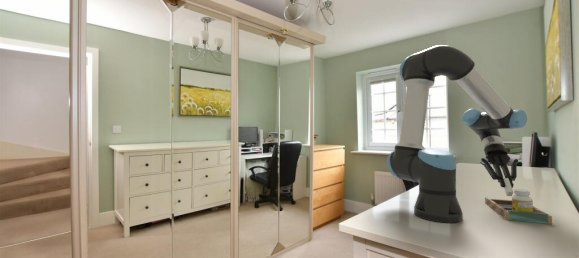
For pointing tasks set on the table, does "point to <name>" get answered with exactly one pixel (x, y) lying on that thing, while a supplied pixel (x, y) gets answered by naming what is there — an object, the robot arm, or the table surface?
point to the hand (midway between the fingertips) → (510, 194)
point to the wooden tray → (517, 212)
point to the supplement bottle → (522, 201)
